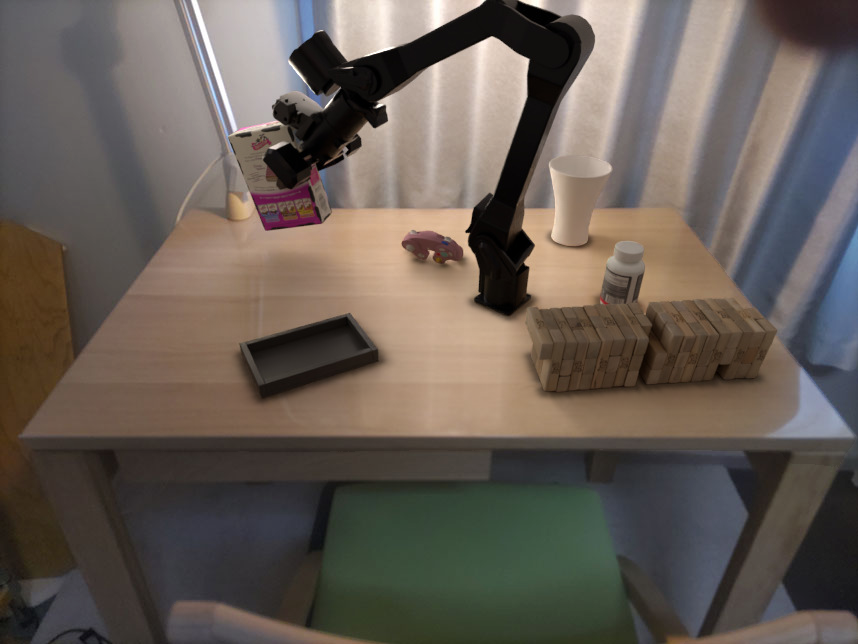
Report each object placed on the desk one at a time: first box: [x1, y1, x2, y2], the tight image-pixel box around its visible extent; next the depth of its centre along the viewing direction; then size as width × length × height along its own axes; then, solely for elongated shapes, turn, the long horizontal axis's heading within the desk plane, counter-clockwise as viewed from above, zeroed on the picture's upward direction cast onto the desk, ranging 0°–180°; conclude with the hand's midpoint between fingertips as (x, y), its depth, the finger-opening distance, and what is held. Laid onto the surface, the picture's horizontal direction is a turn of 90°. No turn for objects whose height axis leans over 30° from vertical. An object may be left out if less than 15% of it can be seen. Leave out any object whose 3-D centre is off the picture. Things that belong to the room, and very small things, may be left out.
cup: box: [548, 154, 614, 247], centre depth 105 cm, size 10×10×14 cm
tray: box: [238, 312, 379, 399], centre depth 79 cm, size 16×10×2 cm, turn 118°
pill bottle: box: [599, 240, 646, 305], centre depth 88 cm, size 5×5×10 cm
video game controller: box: [401, 229, 464, 265], centre depth 100 cm, size 10×5×7 cm, turn 68°
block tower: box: [524, 296, 778, 393], centre depth 76 cm, size 8×8×29 cm
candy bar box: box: [227, 120, 333, 232], centre depth 97 cm, size 11×5×16 cm, turn 77°
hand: (289, 180), depth 98 cm, fingers closed on candy bar box, 5 cm apart
